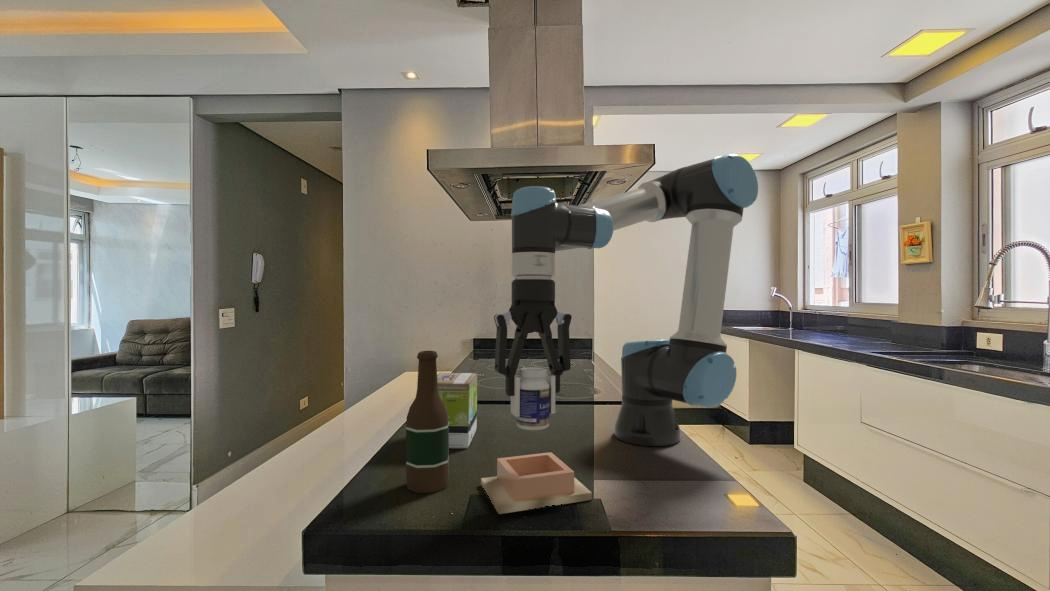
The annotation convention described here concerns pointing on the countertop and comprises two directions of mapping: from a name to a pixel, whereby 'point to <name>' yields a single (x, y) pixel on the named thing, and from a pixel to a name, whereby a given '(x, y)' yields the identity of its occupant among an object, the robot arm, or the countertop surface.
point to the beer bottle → (427, 432)
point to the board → (507, 505)
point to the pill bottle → (533, 399)
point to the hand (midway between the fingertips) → (532, 412)
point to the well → (535, 476)
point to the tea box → (459, 406)
